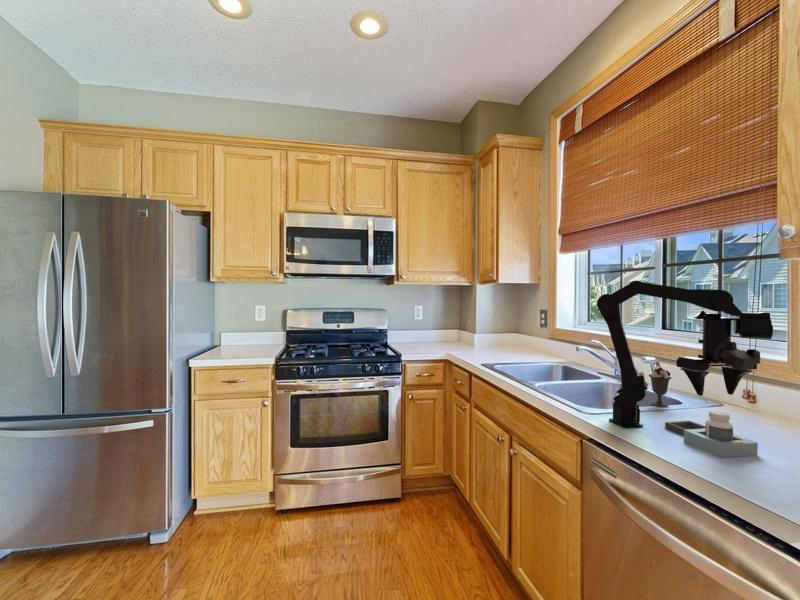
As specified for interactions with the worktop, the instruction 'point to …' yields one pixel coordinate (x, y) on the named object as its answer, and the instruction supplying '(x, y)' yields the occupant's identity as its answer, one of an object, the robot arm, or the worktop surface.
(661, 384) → the sundae
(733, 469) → the worktop surface
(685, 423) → the dark brown square tray
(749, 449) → the tray
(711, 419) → the pill bottle
